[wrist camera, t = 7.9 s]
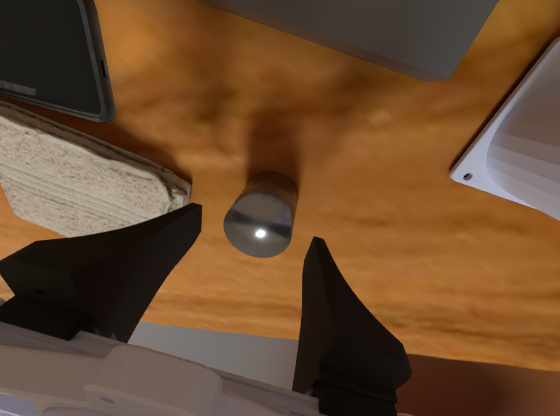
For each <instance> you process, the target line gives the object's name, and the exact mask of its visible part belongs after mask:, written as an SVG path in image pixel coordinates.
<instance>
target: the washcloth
mask: <svg viewBox="0 0 560 416" xmlns="http://www.w3.org/2000/svg"><path fill="white" fill-rule="evenodd" d="M0 183H1V186H2V188H3V189H4V192H5V196H6V197H7V199H8V201H9V203H10V206H11V207H12V209H13V210H14V214H16V215H17V216H19V217H21V218H23V219H26V220H28V221H30V222H32V223H34V224H38V225H39V226H43V227H45V228H49V229H51V230H54V231H55V232H58V233H59V234H62V235H64V236H67V237H77V236H84V235H90V234H96V233H101V232H106V231H110V230H115V229H120V228H124V227H127V226H131V225H135V224H138V223H141V222H144V221H147V220H150V219H153V218H155V217H158V216H161V215H163V214H166V213H168V212H171V211H173V210H176V209H178V208H181V207H183V206H185V205H188V204H189V202H190V195H191V184H190V183H189V182H187V181H185V180H184V179H181V178H179V177H178V176H177V175H176V174H175V173H173V172H172V171H171V170H169V169H165V168H163V167H162V166H160V165H157V164H156V163H154V162H152V161H150V160H148V159H146V158H144V157H141V156H139V155H137V154H134V153H132V152H129V151H126V150H125V149H122V148H119V147H117V146H114V145H112V144H110V143H108V142H105V141H103V140H100V139H98V138H95V137H93V136H90V135H88V134H86V133H83V132H81V131H78V130H75V129H73V128H70V127H68V126H65V125H63V124H60V123H58V122H55V121H53V120H50V119H48V118H45V117H43V116H40V115H38V114H36V113H34V112H31V111H29V110H26V109H24V108H22V107H19V106H17V105H14V104H12V103H9V102H6V101H3V100H0ZM177 265H178V264H177ZM177 265H176V266H177ZM176 266H175V267H176ZM175 267H174V268H175Z"/></svg>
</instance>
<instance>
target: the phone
mask: <svg viewBox="0 0 560 416" xmlns="http://www.w3.org/2000/svg"><path fill="white" fill-rule="evenodd" d="M100 60H101V61H103V65H104V70H105V76H106V77H104V76H103V71H102V66H101V61H100ZM0 96H2V97H5V98H9V99H13V100H16V101H20V102H24V103H28V104H31V105H35V106H39V107H43V108H46V109H50V110H54V111H57V112H61V113H65V114H69V115H72V116H76V117H80V118H84V119H87V120H91V121H95V122H103V121H109V120H112V119H113V118H114V116H115V105H114V99H113V94H112V89H111V83H110V78H109V73H108V67H107V62H106V56H105V51H104V46H103V40H102V35H101V30H100V24H99V19H98V14H97V10H96V7H95V4H94V2H93V0H0ZM110 99H111V100H110Z"/></svg>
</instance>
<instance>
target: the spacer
mask: <svg viewBox="0 0 560 416" xmlns="http://www.w3.org/2000/svg"><path fill="white" fill-rule="evenodd" d="M297 201H298V193H297V189H296V187H295V185H294V184H293V182H292V181H291V180H290V179H289V178H287V177H286V176H284V175H283V174H280V173H277V172H270V171H268V172H262V173H260V174H257V175H256V176H254V177H253V178H252V179H251V180H250V182H249V183H248V185H247V186H246V187H245V189H244V190H243V191H242V193H241V194H240V196H239V197H238V198H237V200H236V201H235V202H234V204H233V205H232V207H231V208H230V209H229V211H228V212H227V214H226V216H225V219H224V231H225V234H226V236H227V238H228V240H229V241H230V242H231V244H232V245H233V246H234V247H236V248H237V249H238V250H240V251H241V252H243V253H245V254H247V255H250V256H253V257H259V258H267V257H273V256H276V255H278V254H280V253H282V252H283V251H284V250H285V249H286V248H287V247H288V245H289V243H290V241H291V236H292V231H293V225H294V219H295V213H296V207H297Z"/></svg>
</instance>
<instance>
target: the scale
mask: <svg viewBox="0 0 560 416" xmlns="http://www.w3.org/2000/svg"><path fill="white" fill-rule="evenodd" d="M197 1H199V2H202V3H205V4H208V5H211V6H213V7H216V8H219V9H222V10H225V11H228V12H230V13H233V14H236V15H239V16H242V17H245V18H247V19H250V20H253V21H256V22H259V23H262V24H264V25H267V26H270V27H273V28H276V29H278V30H281V31H284V32H287V33H290V34H293V35H295V36H298V37H301V38H304V39H307V40H310V41H312V42H315V43H318V44H321V45H324V46H327V47H329V48H332V49H335V50H338V51H341V52H343V53H346V54H349V55H352V56H355V57H358V58H360V59H363V60H366V61H369V62H372V63H375V64H377V65H380V66H383V67H386V68H389V69H392V70H394V71H397V72H400V73H403V74H406V75H408V76H411V77H414V78H417V79H420V80H423V81H439V80H449V79H450V77H451V76H452V74H453V72H454V71H455V69H456V68H457V66H458V64H459V63H460V61H461V60H462V58H463V57H464V55H465V53H466V52H467V50H468V49H469V47H470V45H471V44H472V42H473V41H474V39H475V37H476V36H477V34H478V33H479V31H480V29H481V28H482V26H483V25H484V23H485V21H486V20H487V18H488V17H489V15H490V13H491V12H492V10H493V9H494V7H495V5H496V4H497V2H498V1H499V0H197Z"/></svg>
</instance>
